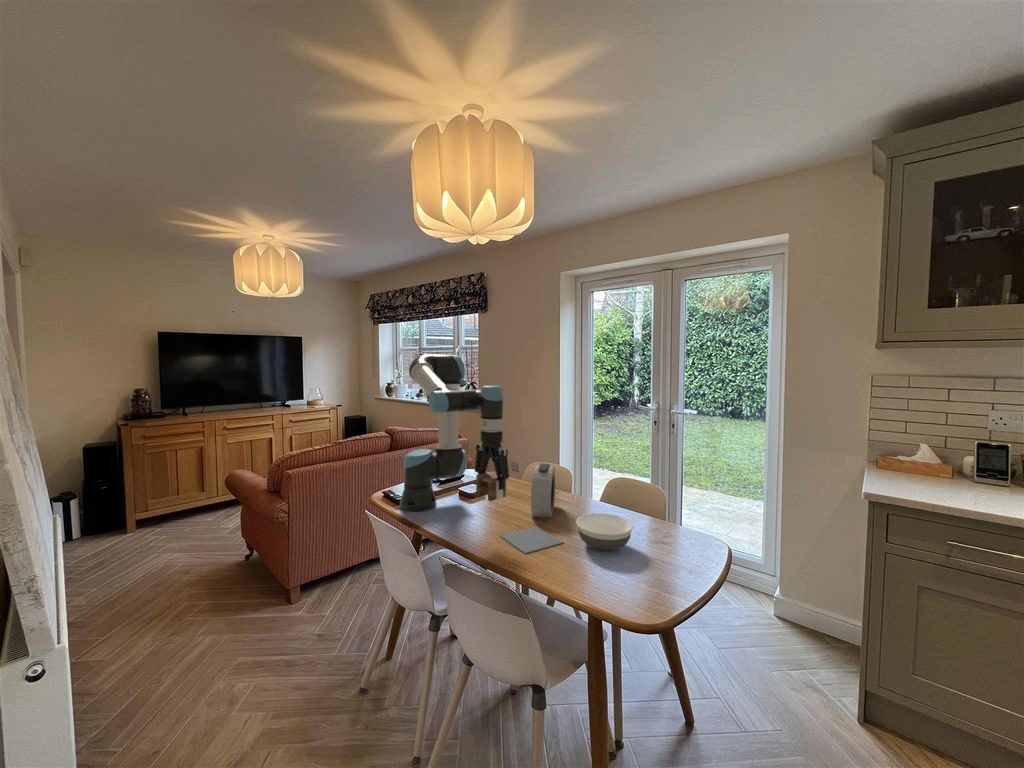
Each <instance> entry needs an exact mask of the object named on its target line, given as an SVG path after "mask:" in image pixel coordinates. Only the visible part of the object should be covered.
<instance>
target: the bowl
mask: <svg viewBox="0 0 1024 768" xmlns="http://www.w3.org/2000/svg"><path fill="white" fill-rule="evenodd" d="M575 523H576V525H577V529H578V535H579V537H580V539H581V540H582V542H584V543H585V544H586V545H587V546H589V547H591V548H592V550H595V551H596V552H599V553H613V552H616V550H619V549H622V548H623V547H624V546H626V545H627V544H628V542H629V540H630V539H631V534H632V531H633V529H634V526H633V523H632V522H631V521H630V520H628V519H627V518H624V517H622V516H620V515H616V514H611V513H602V512H601V513H598V512H597V513H595V512H594V513H586V514H584V515H581V516H579V517H578V518H577V519H576V521H575Z"/></svg>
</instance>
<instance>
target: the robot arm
mask: <svg viewBox="0 0 1024 768" xmlns="http://www.w3.org/2000/svg"><path fill="white" fill-rule="evenodd" d="M408 373H409V377H410V378H411V380H412V381H413V382H414V383H415V384H417V385H419V386H420V387H421V388H422V389H423V391H424V392H425V393H426V394H427V396H428V406H429V409H430V411H431V412H432V413H437V421H438V422H437V427H438V428H437V430H438V444H437V445H435V448H434V449H435V450H434V451H433V450H432V449H429V448H424V449H423V448H420V449H414V450H412V451H409V452H408V453H407V454H405V456H404V458H403V486H404V487H403V491H402V494H401V496H400V500H399V507H400V509H401V510H404V511H407V512H423V511H428V510H431V509H433V508H435V507H436V506H437V498H436V494H435V492H434V489H433V480H441V479H448V478H449V479H450V478H452V479H454V478H456V477H461V476H463V475H464V473H465V471H466V469H467V465H468V456H467V452H466V450H465V449H463V446H462V445H461V444H460V443H459V422H458V421H459V420H458V418H459V416H458V415H459V413H458V412H475V411H477V412H480V429H481V431H480V442H481V443H480V444H477V445H475V447H476V448H475V450H476V455H475V463H474V472H475V473H477V475H478V474H482V473H487V472H488V471H487V468H488V465H489V461H490V459H491V461H492V462H493V465H494V469H495V473H496V474H497V478H498V479H496V499H497V500H501V499H503V498H504V497H503V489H504V480H505V479H506V480H507V479H509V478H510V474H509V472H510V471H509V464H508V452H509V450H508V449H504V448H502V444H501V443H502V441H503V431H502V430H503V428H504V427H503V425H504V424H503V416H504V415H503V411H504V410H503V408H504V394H503V392H504V390H503V387H502V386H501V385H483V386H482V387H481V388H473V389H464V390H463V389H461V390H459V389H458V388H459V387H460V386H461V382H463V380H464V379H465V375H466V369H465V364H464V361H463V359H462V358H461V357H460V356H459V355H457V354H451V353H450V354H449V353H447V354H440V353H439V354H435V353H434V354H430V353H429V354H428V353H425V354H422V355H419V356H417V357H416V358H414V359H413V360H412V361H411V363H410V365H409V368H408Z"/></svg>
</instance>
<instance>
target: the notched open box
mask: <svg viewBox="0 0 1024 768" xmlns="http://www.w3.org/2000/svg"><path fill="white" fill-rule="evenodd" d="M486 472H487V473H486ZM486 472H485V473H482V474H478V473H477V474H476V483H475V484H476V488H475V490H476V495H475V496H476V497H477V498H481V497H484V496H487V500H488V502H493V501H496V500H498V499H496V479H498V478H497V474H496V471H486ZM506 486H507V479H505V480H504V489H503V498H505V497H507V490H506V489H507V487H506Z"/></svg>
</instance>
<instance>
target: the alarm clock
mask: <svg viewBox="0 0 1024 768" xmlns="http://www.w3.org/2000/svg"><path fill="white" fill-rule="evenodd" d="M530 492H531V493H530V511H531V516H532V518H543V519H551V518H552V516H553V512H554V508H555V503H556V502H555V501H556V469H555V466H551V465H550V464H549V463H540V464H539V465H535V467H534V468H533V473H532V479H531V491H530Z"/></svg>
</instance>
